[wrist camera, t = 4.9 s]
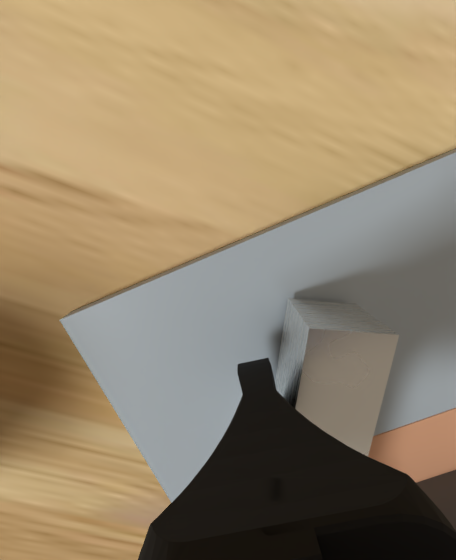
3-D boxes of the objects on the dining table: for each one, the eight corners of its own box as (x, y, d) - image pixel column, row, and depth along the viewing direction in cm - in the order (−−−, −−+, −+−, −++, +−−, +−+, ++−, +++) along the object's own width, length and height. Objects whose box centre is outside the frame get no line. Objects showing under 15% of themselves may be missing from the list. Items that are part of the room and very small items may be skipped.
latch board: (553, 482, 15) (671, 579, 11) (234, 582, 16) (237, 700, 12) (494, 132, 11) (650, 87, 7) (72, 310, 12) (1, 359, 8)
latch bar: (316, 535, 14) (345, 635, 10) (242, 531, 14) (248, 631, 10) (367, 304, 11) (428, 344, 8) (274, 296, 11) (296, 334, 7)
